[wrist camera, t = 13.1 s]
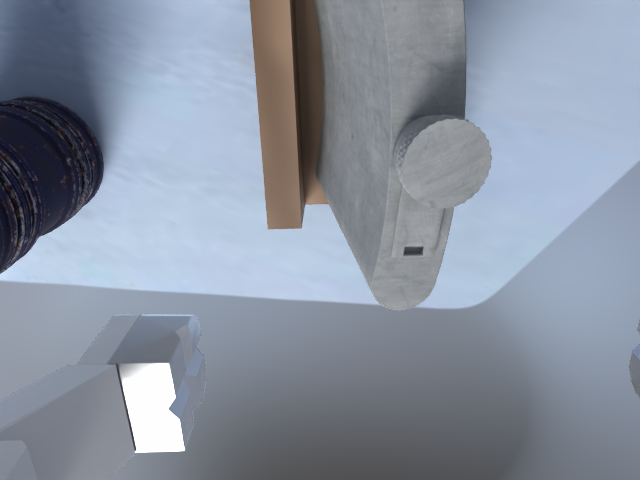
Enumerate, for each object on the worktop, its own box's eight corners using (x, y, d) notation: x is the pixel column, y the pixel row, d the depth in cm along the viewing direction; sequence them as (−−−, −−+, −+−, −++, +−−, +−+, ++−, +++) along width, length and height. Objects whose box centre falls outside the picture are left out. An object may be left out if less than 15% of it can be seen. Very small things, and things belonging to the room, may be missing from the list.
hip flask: (310, -40, 34) (401, -76, 16) (371, -41, 35) (523, -76, 17) (315, 191, 41) (384, 344, 23) (366, 187, 42) (472, 334, 24)
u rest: (417, -56, 36) (433, -68, 30) (408, 195, 43) (420, 225, 37) (259, -49, 36) (244, -60, 30) (276, 199, 44) (267, 229, 38)
